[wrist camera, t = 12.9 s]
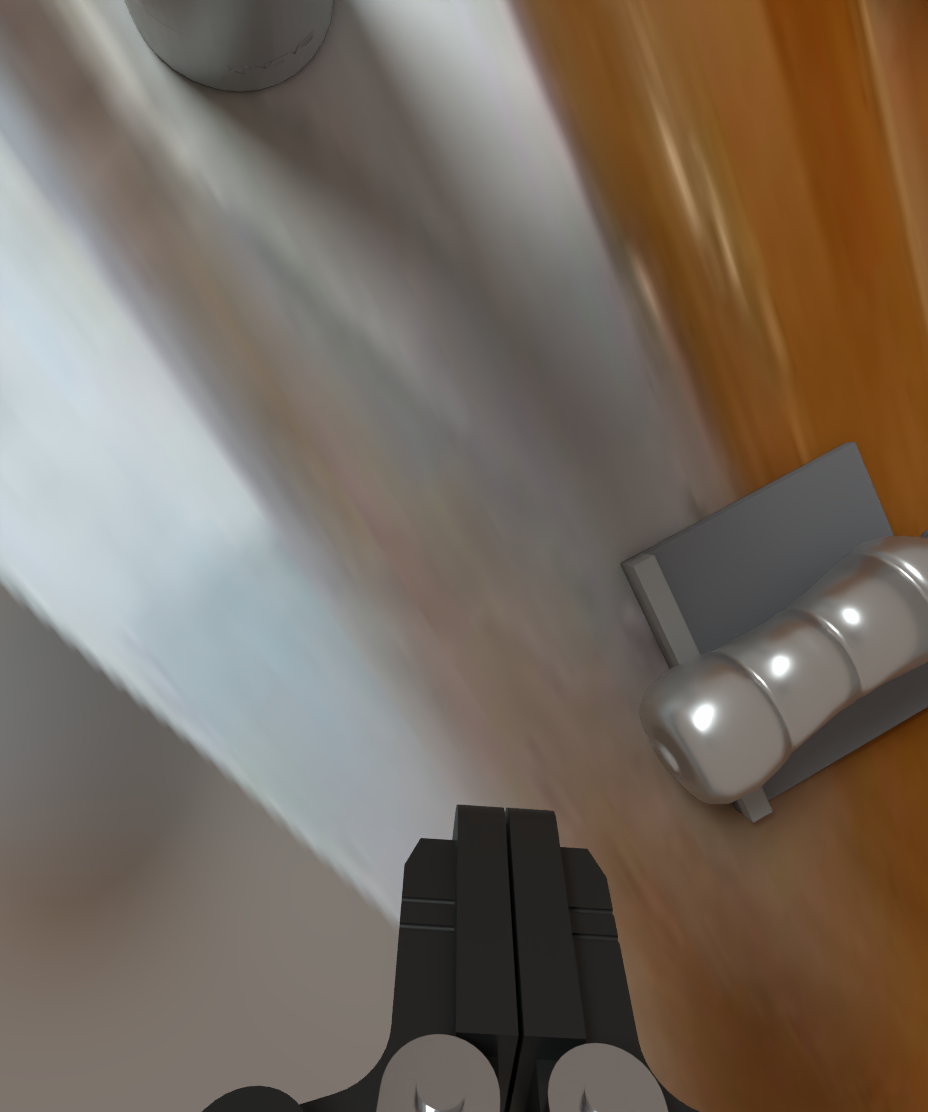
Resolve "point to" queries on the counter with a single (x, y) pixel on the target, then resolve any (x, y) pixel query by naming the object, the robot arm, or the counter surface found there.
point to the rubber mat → (773, 592)
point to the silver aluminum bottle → (791, 672)
